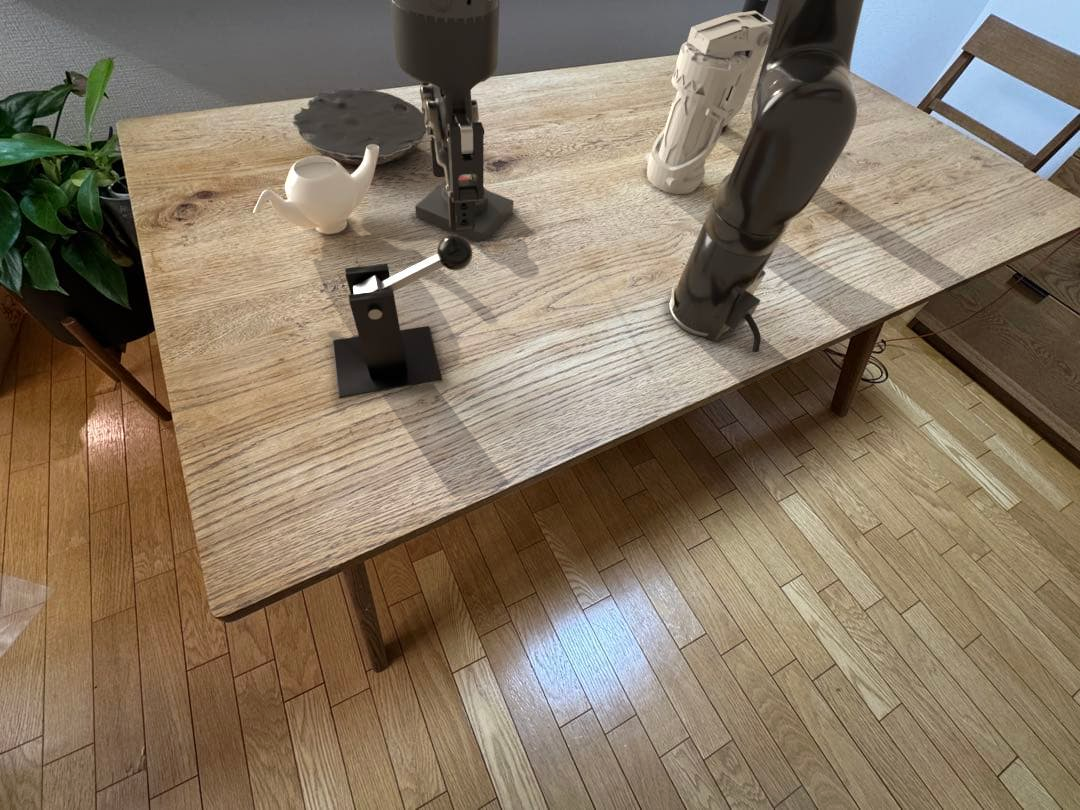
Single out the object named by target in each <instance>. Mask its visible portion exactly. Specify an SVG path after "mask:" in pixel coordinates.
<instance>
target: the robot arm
mask: <svg viewBox="0 0 1080 810" xmlns="http://www.w3.org/2000/svg"><path fill="white" fill-rule="evenodd" d="M864 2H865V0H778V4H777V8H776V12H775V15H774V16H775V17H774V20H773V23H774V24H772V27H771V29H772V32H771V35H770V39H769V43H768V45H767V48H766V50H765V53H764V56H763V57H764V58H763V61H762V65H761V68H760V70H759V71H760V72H759V75H758V78H757V81H756V85H755V88H754V92H753V96H752V100H751V110H750V111H751V114H750V115H751V120H750V121H751V126H750V129H749V132H748V134H747V137H746V139H745V141H744V143H743V146H742V147H741V151H740V153H739V155H738V156H737V159H736V162H735V164H734V166H733V168H732V171H731V172H730V173H729V174H727V175H726V176H725V177H723V178H722V181H721V182H720V184H719V187H718V189H717V191H716V193H715V195H714V199H713V201H712V203H711V206H710V208H709V211H708V213H707V215H706V217H705V220H704V222H703V224H702V227H701V229H700V231H699V234H698V236H697V238H696V240H695V243H694V245H693V248H692V250H691V251H690V254H689V257H688V259H687V261H686V264H685V266H684V269H683V271H682V273H681V276H680V278H679V280H678V283H677V285H676V287H675V285H673V287H672V289H671V298H670V300H669V303H668V312H669V315H670V317H671V319H672V320H673V322H675V324H676V325H677V326H679V327H680V328H681V329H683V330H684V331H685V332H687V333H689V334H691V335H694V336H698V337H703V338H707V339H709V340H710V341H712V342H716V340H718V339H719V338H720V337H721V336H722V335H724V334H726V333H727V332H728V331H729V330H730V329H731V330H733V331H736V330H737V329H738V328H740V326H742V325H743V324H744V323H745V322H746V323H747V324H748V326H749V328H750V330H751V332H752V335H753V344H752V353H759V352H760V347H761V342H762V341H761V340H762V338H761V333H760V329H759V327H758V325H757V323H756V321H755V320H754V317H753V316H752V315H753V314H754V313H755V311H756V309H757V308H758V306H759V304H760V303H761V299H760V298H758V297H756V296H755V295H754V294H755V292H757V290H758V287H759V286H760V284H761V283H762V281H763V279H764V277H765V276H766V271H765V270H764V269H765V267H766V265H767V264H768V262H769V260H770V258H771V257H772V255H773V253H774V252H775V250H776V248H777V247H778V245H779V243H780V242H781V240H782V238H783V236H784V235H785V233H786V232H787V230H788V228H789V227H790V225H791V223H792V221H793V220H794V219H795V218H796V217H797V216H799V215H800V214H801V213H802V212H803V211H804V210H805V209H806V208H807V207H808V205H809V204H810V203H811V201H812V200H813V198H814V197H815V195H816V194H817V192H818V190H819V189H820V187H822V185H823V183H824V182H825V180H826V178H827V177H828V175H829V174H830V172H831V171H832V170H833V167H834V166H835V165H836V163H837V162H838V159H839V158H840V157H841V155H842V153H843V151H844V150H845V148H846V146H847V144H848V143H849V141H850V138H851V136H852V134H853V131H854V129H855V126H856V123H857V118H858V103H857V98H856V94H855V89H854V87H853V83H852V79H851V64H852V57H853V53H854V52H853V51H854V45H855V41H856V35H857V31H858V28H859V23H860V18H861V14H862V11H863V7H864V6H863V5H864ZM389 7H390V15H391V24H392V25H391V26H392V34H393V43H394V53H395V59H396V62H397V64H398V66H399V68H400V69H401V70H402V71H403V72H404V73H405V74H406V75H408V76H409V77H410V78H412V79H414V80H416V81H418V82H420V86H419V94H420V99H421V112H422V114H423V118H424V123H425V125H426V131H427V135H428V136H429V147H430V148H429V149H430V161H431V171H432V174H433V176H434V177H435V178H445V179H446V186H445V187H446V192H448V209H449V225H450V228H451V230H452V231H453V232H464V231H471V230H473V229H474V228H475V201H479V200H483V195H484V189H483V187H484V140H485V139H484V138H485V137H484V136H485V128H484V126H483V122H481V121H479V120H480V115H479V114H480V113H479V105H478V101H477V99H472V90H473V88H475V87H476V86H477V85H479V84H481V83H483V82H486V81H488V80H489V79H490V78H491V77H492V76H493V75H494V74H495V72H496V69H497V67H498V57H499V55H498V54H499V52H498V51H499V24H500V22H499V21H500V0H389ZM463 175H464V176H465V175H466V176H467V175H468V178H469V179H465V180H458V178H460V176H463ZM445 179H444V180H445Z"/></svg>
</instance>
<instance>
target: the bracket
mask: <svg viewBox="0 0 1080 810" xmlns="http://www.w3.org/2000/svg"><path fill="white" fill-rule="evenodd" d="M344 275H345V278H346V282H347V286H348V290H349V293H350V294H348V296H347V297H348V302H349V305H350V310H351V313H352V318H353V322H354V323H355V328H356V332H357V335H358V336H353V337H346V338H338V339H333V340H332V348H333V357H334V358H333V359H334V366H335V375H336V382H337V392H338V394H337V395H338V398H339V399H340V398H346V397H351V396H352V397H353V396H357V395H364V394H369V393H375V392H381V391H386V390H387V391H388V390H392V389H399V388H404V387H409V386H415V385H421V384H427V383H431V382H437V381H442V380H443V378H442V374H441V370H440V366H439V362H438V358H437V354H436V350H435V345H434V342H433V338H432V337H433V336H432V333H431V330H430V326H429V325H426V326H420V327H419V326H418V327H413V328H405V329H401V327H400V321H399V315H398V310H397V305H396V298H395V293H394V292H393V289H390V290H382V291H374V292H367V293H359V294H354V291H353V286H354V285H356V284H358V283H360V282H362V281H364V280H366V279H368V278H370V277H372V276H374V275H376V276H377V277H378V279H379V280H380V281H381V282H382V281H384V280H386V279H388V278H390V277H391V274H390V270H389V265H388V263H379V264H369V265H362V266H353V267H352V266H351V267H345V268H344Z"/></svg>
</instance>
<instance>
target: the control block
mask: <svg viewBox="0 0 1080 810" xmlns="http://www.w3.org/2000/svg"><path fill="white" fill-rule="evenodd" d="M445 186H446V179H444V180H443V181H442V182H441V183H439V184H438V185H437V186H436V187H435V188H434V189H433V190H432V191H430V192H429V193H428V194H427V195H426V196H425V197H423V198H422V200H420V201H418V202H417V204H416V205H414V207H415V216H416V219H418V220H420V221H423V222H426V223H428V224H431V225H433V226H435V227H437V228H440V229H442V230H445V231H446V232H449V233H452V234H453V235H460V236H462V237H464V238H465V239H466V240H469V241H471V242H474V243H483V242H484V243H485V242H488V240H489V239H490V238H491V237H492V236H493V235H494V233H496V231H497V230H498V229H499V228H500V227H501V226H502V225H503V224H504V223H505V221H506V220H507V219H508V218H509V217H510V216H511V215H512V214H513V213H514V202H515V201H514V200H513V199H510V198H508V197H505V196H503V195H500V194H497V193H495V192H492V191H491V190H488V189H487V188H485V186H483V189H484V195H483V200H479V201H475V228H474V229H473V230H471V231H464V232H453V231H452V230H451V228H450V225H449V209H448V192H446V187H445Z"/></svg>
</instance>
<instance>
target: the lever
mask: <svg viewBox="0 0 1080 810" xmlns="http://www.w3.org/2000/svg"><path fill="white" fill-rule="evenodd" d="M436 251H437V252H436V253H435V254H433V255H432V256H430V257H428V258H426V259H424V260H421V261H420V262H418V263H415V264H414V265H412V266H410V267H408V268H405V269H404V270H401V271H400V272H398V273H396V274H394V275H392V276H390V278H388V279H386V280H384V281H382V282H381V281H380V280H379V279H378V277H377V276H376V275H374V276H372V277H370V278H368V279H366V280H364V281H362V282H360V283H358V284H356V285H354V286H353V291H354V294H359V293H367V292H374V291H382V290H390V289H393V293H394V292H396V291H398V290H400V289H403V288H404V287H405V286H408V285H410V284H411V283H414V282H416V281H418V280H420V279H422V278H425V276H428V275H430V274H432V273H433V272H435V271H438V270H439V269H442V268H446V269H448V270H450V271H454V272H455V271H462V270H465V269H466V268H467V267H468V266H469V265H470V263H471V261H472V259H473V248H472V245H471V243H470V242H469V241H468V239H466V238H464V237H462V236H460V235H457V234H449V235H446V236H444V237H443V238H442V239H441V240H440V242H439V243H438V246H437V249H436Z"/></svg>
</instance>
